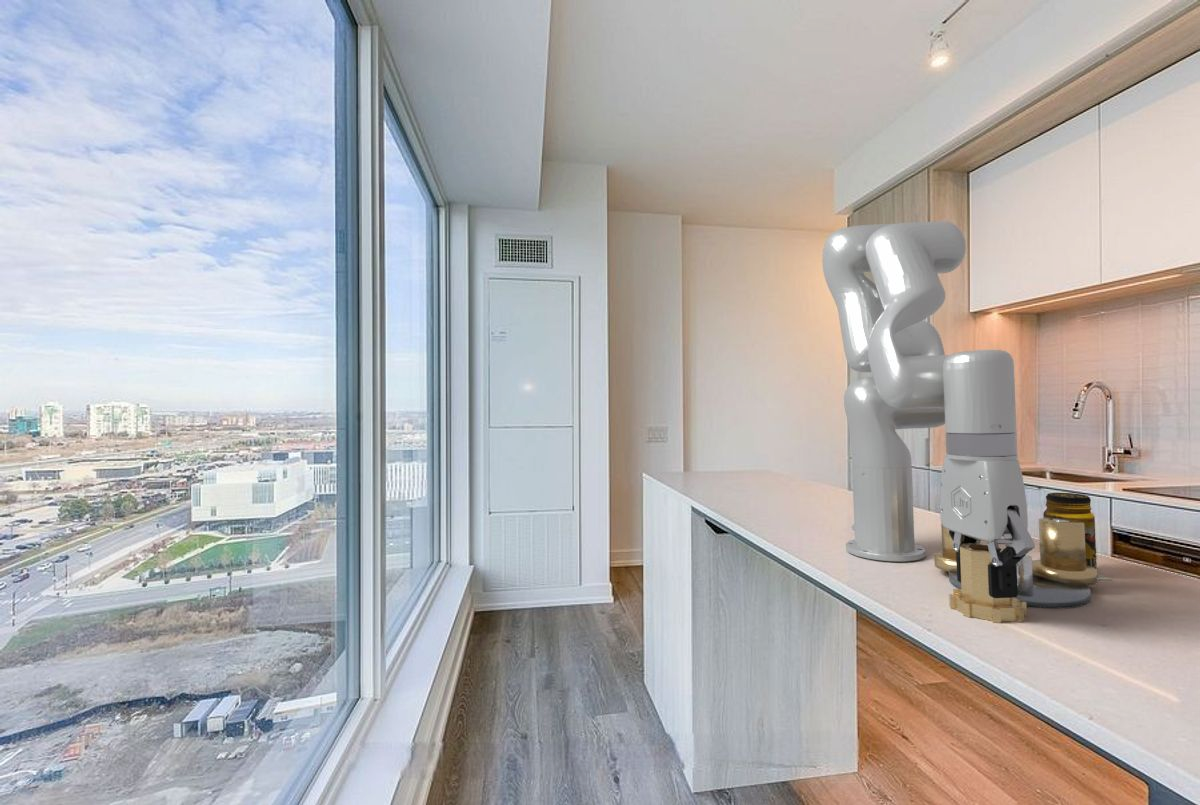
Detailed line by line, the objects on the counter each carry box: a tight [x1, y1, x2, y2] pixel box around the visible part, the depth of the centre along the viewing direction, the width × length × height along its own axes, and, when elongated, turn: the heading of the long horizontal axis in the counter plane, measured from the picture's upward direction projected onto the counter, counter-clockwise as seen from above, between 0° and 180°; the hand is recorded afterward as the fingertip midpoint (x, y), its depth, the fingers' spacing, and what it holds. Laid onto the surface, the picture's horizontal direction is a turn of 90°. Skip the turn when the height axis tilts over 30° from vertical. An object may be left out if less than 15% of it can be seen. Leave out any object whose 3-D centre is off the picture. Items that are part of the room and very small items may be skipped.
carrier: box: [933, 517, 1098, 609], centre depth 79 cm, size 18×19×9 cm
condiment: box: [1042, 492, 1112, 581], centre depth 85 cm, size 7×8×12 cm
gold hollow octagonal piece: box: [948, 542, 1028, 624], centre depth 70 cm, size 8×8×8 cm
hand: (986, 587), depth 70 cm, fingers closed on gold hollow octagonal piece, 5 cm apart
